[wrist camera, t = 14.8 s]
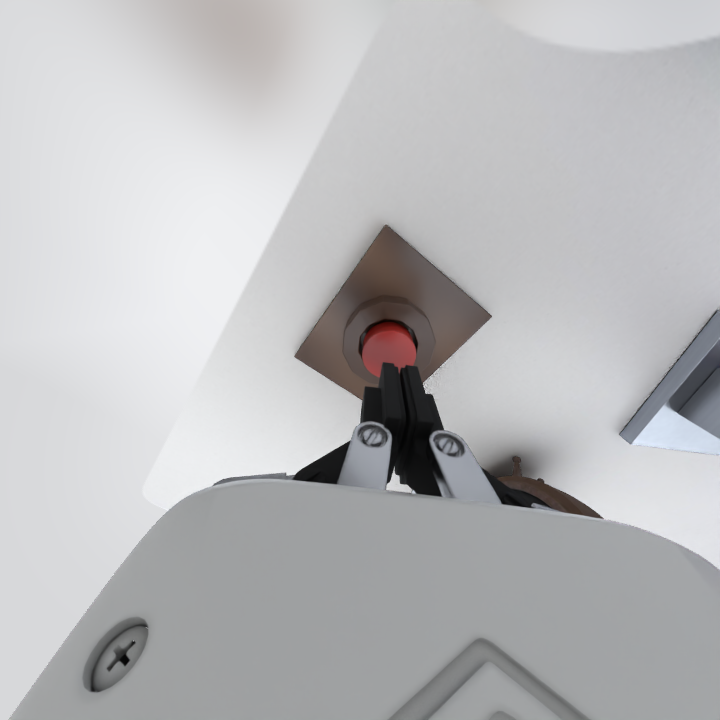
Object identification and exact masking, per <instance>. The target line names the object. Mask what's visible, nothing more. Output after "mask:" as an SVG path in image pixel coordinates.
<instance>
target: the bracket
mask: <svg viewBox="0 0 720 720" xmlns="http://www.w3.org/2000/svg"><path fill="white" fill-rule="evenodd" d="M620 436H621V437H622V438H624V439H625V440H626V441H627V442H628V443H630V444H632V445H640V446H648V447H656V448H664V449H672V450H680V451H688V452H696V453H704V454H712V455H720V311H717V312H716V313H715V314H714V316H713V317H712V318H711V320H710V321H709V322H708V323H707V325H706V326H705V327H704V328H703V330H702V331H701V332H700V333H699V335H698V336H697V337H696V339H695V340H694V341H693V342H692V344H691V345H690V346H689V347H688V349H687V350H686V351H685V352H684V354H683V355H682V356H681V358H680V359H679V360H678V361H677V363H676V364H675V365H674V366H673V368H672V369H671V370H670V371H669V373H668V374H667V375H666V377H665V378H664V379H663V380H662V382H661V383H660V384H659V385H658V387H657V388H656V389H655V390H654V392H653V393H652V394H651V396H650V397H649V398H648V399H647V401H646V402H645V403H644V404H643V406H642V407H641V408H640V409H639V411H638V412H637V413H636V415H635V416H634V417H633V418H632V420H631V421H630V422H629V423H628V425H627V426H626V427H625V428H624V430H623V431H622V432H621V434H620Z"/></svg>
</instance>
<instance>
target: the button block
mask: <svg viewBox="0 0 720 720" xmlns="http://www.w3.org/2000/svg"><path fill="white" fill-rule="evenodd" d="M491 317H492V316H491V315H490V314H489V313H488V312H487V311H486V310H484V309H483V308H482V307H481V306H480V305H479V304H477V303H476V302H475V301H474V300H473V299H472V298H471V297H469V296H468V295H467V294H466V293H465V292H464V291H462V290H461V289H460V288H459V287H458V286H457V285H456V284H454V283H453V282H452V281H451V280H450V279H449V278H447V277H446V276H445V275H444V274H443V273H442V272H440V271H439V270H438V269H437V268H436V267H435V266H434V265H432V264H431V263H430V262H429V261H428V260H427V259H425V258H424V257H423V256H422V255H421V254H420V253H419V252H417V251H416V250H415V249H414V248H413V247H412V246H410V245H409V244H408V243H407V242H406V241H405V240H403V239H402V238H401V237H400V236H399V235H398V234H397V233H395V232H394V231H393V230H392V229H391V228H390V227H388V226H387V225H385V226H384V227H383V229H382V230H381V232H380V233H379V235H378V236H377V237H376V239H375V240H374V242H373V243H372V245H371V246H370V248H369V249H368V250H367V252H366V253H365V255H364V256H363V258H362V259H361V261H360V262H359V263H358V265H357V266H356V268H355V269H354V271H353V272H352V274H351V275H350V276H349V278H348V279H347V281H346V282H345V284H344V285H343V286H342V288H341V289H340V291H339V292H338V294H337V295H336V297H335V298H334V299H333V301H332V302H331V304H330V305H329V307H328V308H327V310H326V311H325V312H324V314H323V315H322V317H321V318H320V320H319V321H318V322H317V324H316V325H315V327H314V328H313V330H312V331H311V333H310V334H309V335H308V337H307V338H306V340H305V341H304V343H303V344H302V346H301V347H300V348H299V350H298V351H297V353H296V354H295V356H294V357H295V358H297V359H298V360H300V361H302V362H303V363H305V364H306V365H308V366H309V367H311V368H313V369H314V370H316V371H317V372H319V373H320V374H322V375H324V376H325V377H327V378H328V379H330V380H331V381H333V382H335V383H336V384H338V385H339V386H341V387H342V388H344V389H346V390H347V391H349V392H350V393H352V394H353V395H355V396H357V397H358V398H360V399H361V400H363V394H364V388H365V386H368V387H376V388H378V385H379V379H380V377H377V376H375V375H373V374H372V373H371V372H369V371H368V370H367V368H366V367H365V365H364V363H363V359H362V350H363V342H364V338H365V336H366V334H367V332H368V331H369V330H370V329H371V328H372V327H374V326H375V325H377V324H380V323H383V322H394V323H398V324H400V325H402V326H403V327H405V328H406V329H407V330H408V331H409V333H410V334H411V336H412V339H413V342H414V345H415V349H416V359H415V362H414V364H413V366H417V367H418V370H419V373H420V377H421V380H422V383H423V382H424V381H425V380H426V379H427V378H428V377H430V376H431V375H432V374H433V373H434V372H435V371H436V370H437V369H438V368H439V367H440V366H441V365H442V364H443V363H444V362H445V361H446V360H447V359H448V358H449V357H450V356H451V355H452V354H454V353H455V352H456V351H457V350H458V349H459V348H460V347H461V346H462V345H463V344H464V343H465V342H466V341H467V340H468V339H469V338H470V337H471V336H472V335H473V334H474V333H475V332H476V331H478V330H479V329H480V328H481V327H482V326H483V325H484V324H485V323H486V322H487V321H488V320H489V319H490V318H491Z"/></svg>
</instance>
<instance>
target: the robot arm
mask: <svg viewBox="0 0 720 720" xmlns="http://www.w3.org/2000/svg"><path fill="white" fill-rule="evenodd" d="M394 466H395V474H396V475H400V484H406V485H408V486H409V487H410V488H411V489H412V492H411V493H405V492H397V491H388V490H386V485H387V484H388V483H389V482H390V480H391V476H392V473H393V469H394ZM146 627H147V628H148V629H147V628H146ZM133 640H134V641H133ZM9 720H720V570H719V569H717V568H716V567H715V566H714V565H712V564H711V563H710V562H708V561H707V560H706V559H704V558H703V557H701V556H700V555H698V554H696V553H694V552H693V551H691V550H689V549H687V548H685V547H683V546H681V545H679V544H677V543H675V542H673V541H671V540H668V539H666V538H664V537H661V536H659V535H656V534H654V533H652V532H649V531H646V530H643V529H640V528H637V527H634V526H631V525H627V524H623V523H619V522H615V521H611V520H606V519H600V518H594V517H589V516H583V515H577V514H570V513H564V512H561V511H558V510H554V509H551V508H548V507H545V506H542V505H539V504H536V503H533V504H532V505H530V504H529V503H528V502H527V501H526V500H525V499H524V498H523V497H522V496H520V495H519V494H518V493H516V492H515V491H513V490H512V489H511V488H509V487H508V486H506V485H505V484H504V483H502V482H501V481H499V480H498V479H497V478H495V477H494V476H492V475H491V474H490V473H488V472H487V471H485V470H484V469H483V468H481V467H480V466H479V464H478V462H477V461H476V459H475V457H474V455H473V454H472V452H471V450H470V449H469V447H468V445H467V444H466V443H465V441H464V440H463V439H462V438H461V437H459V436H458V435H456V434H454V433H452V432H449V431H445V430H444V428H443V425H442V422H441V419H440V416H439V413H438V410H437V407H436V404H435V401H434V398H433V396H432V395H431V394H425V390H424V387H423V384H422V380H421V377H420V373H419V370H418V367H417V366H410V365H405V368H403V367H401V369H400V373H399V369H398V367H395V366H394V363H386V362H383V363H382V368H381V373H380V379H379V385H378V388H376V387H368V386H365V388H364V394H363V401H362V409H361V420H360V424H359V425H358V426H356V428H355V430H354V432H353V435H352V438H351V440H350V441H349V442H347V443H345V444H344V445H342V446H340V447H339V448H337V449H335V450H333V451H332V452H330V453H328V454H327V455H325V456H323V457H321V458H320V459H318V460H316V461H315V462H313V463H311V464H310V465H308V466H306V467H304V468H303V469H301V470H300V471H299V472H297V473H296V475H290V476H286V473H277V474H265V475H254V476H243V477H231V478H227V479H222V480H220V481H219V482H217V483H215V484H214V485H213V486H211V487H208V488H205V489H203V490H200V491H198V492H195V493H193V494H191V495H189V496H187V497H186V498H184V499H182V500H181V501H180V502H178V503H177V504H176V505H174V506H173V507H172V508H171V509H169V510H168V511H167V512H166V513H165V514H164V515H163V516H162V517H161V518H160V519H159V520H158V521H157V522H156V524H155V525H154V526H153V527H152V528H151V529H150V530H149V531H148V532H147V534H146V535H145V536H144V537H143V538H142V540H141V541H140V542H139V543H138V544H137V546H136V547H135V548H134V549H133V551H132V552H131V553H130V555H129V556H128V557H127V558H126V560H125V561H124V562H123V563H122V564H121V566H120V567H119V568H118V570H117V571H116V572H115V573H114V575H113V576H112V577H111V579H110V580H109V581H108V583H107V584H106V585H105V587H104V588H103V590H102V591H101V592H100V594H99V595H98V597H97V598H96V599H95V600H94V602H93V603H92V605H91V606H90V607H89V609H88V610H87V611H86V613H85V614H84V615H83V617H82V618H81V619H80V621H79V622H78V623H77V625H76V626H75V628H74V629H73V630H72V632H71V633H70V634H69V636H68V637H67V638H66V640H65V641H64V643H63V644H62V646H61V647H60V648H59V650H58V651H57V652H56V654H55V655H54V657H53V658H52V659H51V661H50V662H49V664H48V665H47V667H46V668H45V669H44V671H43V672H42V673H41V675H40V676H39V678H38V679H37V680H36V682H35V683H34V685H33V686H32V687H31V689H30V690H29V692H28V693H27V694H26V696H25V697H24V699H23V700H22V701H21V703H20V704H19V706H18V707H17V709H16V710H15V711H14V713H13V714H12V716H11V717H10V718H9Z"/></svg>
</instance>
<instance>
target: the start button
mask: <svg viewBox="0 0 720 720" xmlns="http://www.w3.org/2000/svg"><path fill="white" fill-rule="evenodd" d="M362 359H363V363H364V365H365V367H366V368H367V370H368V371H369V372H371V373H372V374H373V375H375V376H377V377H380V373H381V368H382V363H383V362H386V363H394V366H395V367H398V369H399V373H400V369H401V367H403V368H405V365H410V366H413V364H414V362H415V359H416V349H415V345H414V342H413V339H412V336H411V334H410V333H409V331H408V330H407V329H406V328H405V327H403V326H402V325H400V324H398V323H394V322H383V323H380V324H377V325H375V326H374V327H372V328H371V329H370V330H369V331H368V332H367V334H366V336H365V338H364V342H363V350H362Z"/></svg>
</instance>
